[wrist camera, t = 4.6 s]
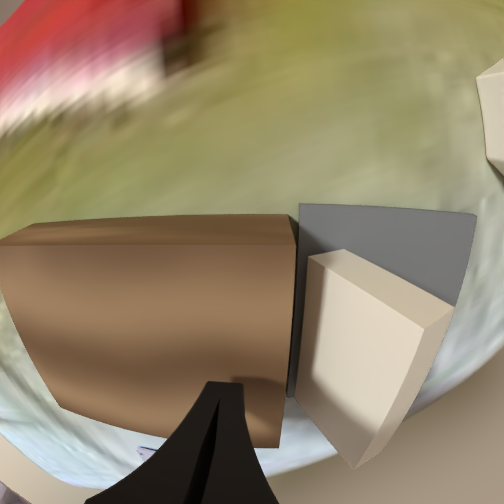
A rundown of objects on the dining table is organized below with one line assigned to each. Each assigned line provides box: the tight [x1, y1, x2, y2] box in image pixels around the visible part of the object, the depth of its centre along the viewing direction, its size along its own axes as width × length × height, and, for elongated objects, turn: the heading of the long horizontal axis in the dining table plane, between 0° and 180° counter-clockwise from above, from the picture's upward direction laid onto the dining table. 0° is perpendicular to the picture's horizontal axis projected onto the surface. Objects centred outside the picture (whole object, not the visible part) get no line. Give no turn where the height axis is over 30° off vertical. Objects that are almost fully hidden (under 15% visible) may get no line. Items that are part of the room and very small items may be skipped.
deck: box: [0, 214, 296, 448], centre depth 13 cm, size 12×15×4 cm
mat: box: [287, 203, 477, 397], centre depth 14 cm, size 12×10×1 cm
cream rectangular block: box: [294, 249, 455, 470], centre depth 11 cm, size 9×6×2 cm
